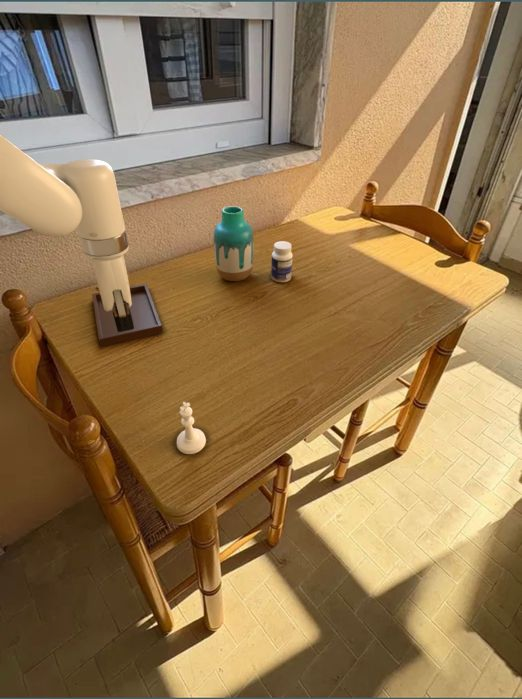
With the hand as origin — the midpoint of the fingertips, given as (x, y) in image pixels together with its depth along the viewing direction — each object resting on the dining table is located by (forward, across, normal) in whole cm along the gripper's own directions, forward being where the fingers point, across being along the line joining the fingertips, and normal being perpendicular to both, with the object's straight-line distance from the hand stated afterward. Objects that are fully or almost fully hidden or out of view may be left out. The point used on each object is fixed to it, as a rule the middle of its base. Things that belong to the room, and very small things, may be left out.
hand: (125, 328), depth 76 cm
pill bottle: (+7, -18, +44) cm, 48 cm away
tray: (+8, -16, +1) cm, 18 cm away
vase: (+7, -23, +32) cm, 40 cm away
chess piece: (+8, +26, +6) cm, 28 cm away
